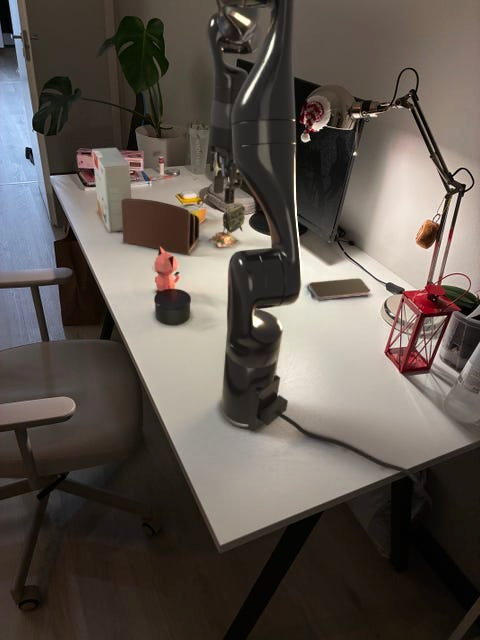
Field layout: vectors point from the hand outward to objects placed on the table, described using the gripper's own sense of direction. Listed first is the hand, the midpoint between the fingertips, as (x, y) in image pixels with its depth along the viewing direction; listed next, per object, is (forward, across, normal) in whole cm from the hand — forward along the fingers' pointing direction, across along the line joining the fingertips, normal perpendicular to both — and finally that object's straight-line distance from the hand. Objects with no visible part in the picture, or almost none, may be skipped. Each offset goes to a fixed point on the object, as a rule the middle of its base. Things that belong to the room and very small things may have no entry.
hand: (223, 197), depth 117 cm
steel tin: (+23, +9, -16) cm, 30 cm away
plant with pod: (+24, -21, +12) cm, 34 cm away
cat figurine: (+24, 0, -14) cm, 28 cm away
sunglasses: (+24, -41, +5) cm, 48 cm away
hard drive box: (+24, -44, -16) cm, 53 cm away
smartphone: (+24, +13, +29) cm, 39 cm away
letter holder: (+24, -27, -6) cm, 36 cm away
